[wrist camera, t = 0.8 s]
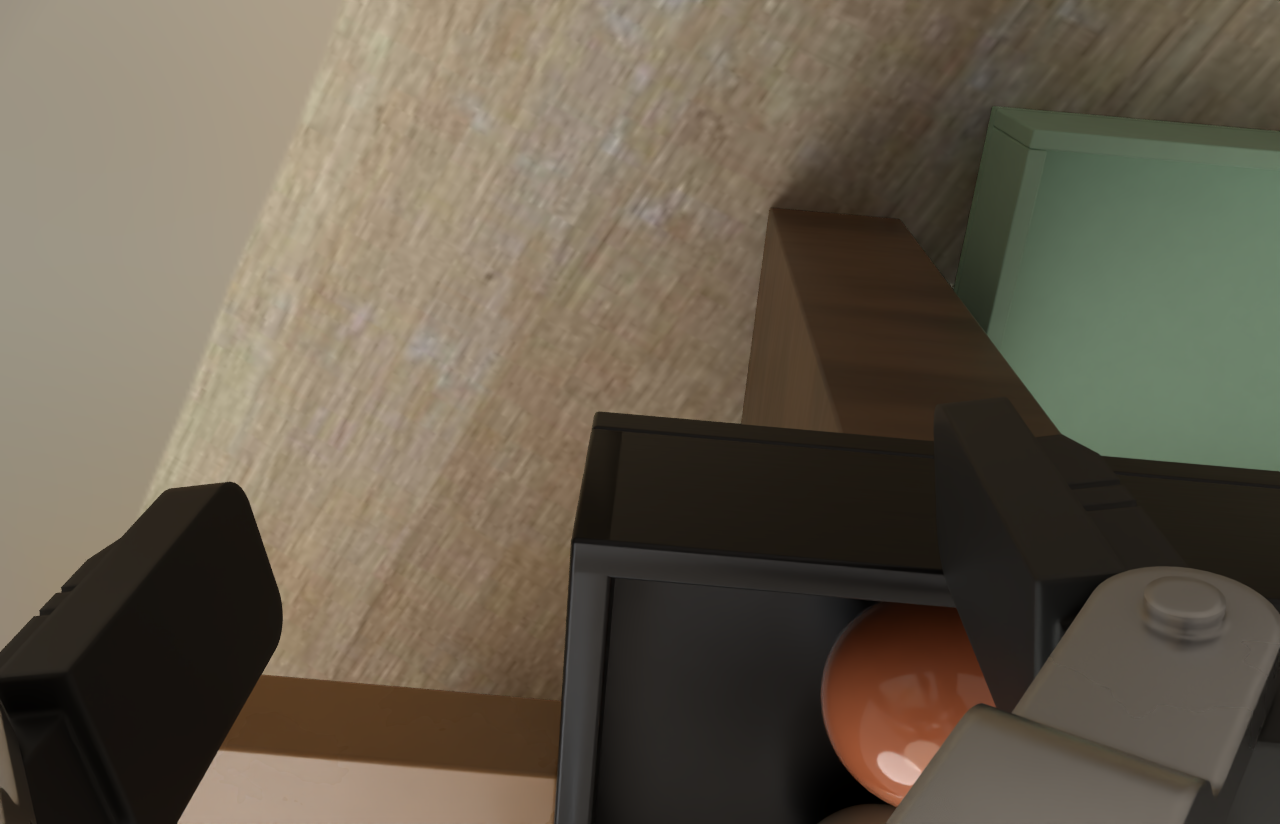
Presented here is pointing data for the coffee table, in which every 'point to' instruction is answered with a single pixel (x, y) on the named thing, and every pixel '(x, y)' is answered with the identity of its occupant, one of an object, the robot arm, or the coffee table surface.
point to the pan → (680, 641)
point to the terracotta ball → (898, 692)
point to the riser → (865, 334)
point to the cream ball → (860, 814)
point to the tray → (1134, 280)
